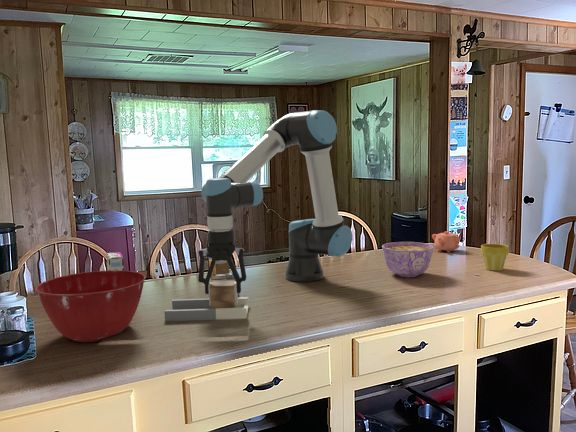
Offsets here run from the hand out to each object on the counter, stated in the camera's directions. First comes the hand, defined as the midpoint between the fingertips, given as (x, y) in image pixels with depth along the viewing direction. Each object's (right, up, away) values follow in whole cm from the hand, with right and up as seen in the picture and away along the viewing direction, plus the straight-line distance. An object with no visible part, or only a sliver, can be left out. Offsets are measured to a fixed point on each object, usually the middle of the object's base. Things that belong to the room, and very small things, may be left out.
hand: (223, 303), depth 155 cm
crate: (0, -1, 0) cm, 2 cm away
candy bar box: (-39, -3, +19) cm, 44 cm away
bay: (-5, -4, 0) cm, 6 cm away
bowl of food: (+67, +3, +46) cm, 82 cm away
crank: (-2, +6, +13) cm, 15 cm away
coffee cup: (-5, 0, +33) cm, 34 cm away
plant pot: (+104, +5, +52) cm, 117 cm away
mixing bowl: (-34, -7, -12) cm, 37 cm away
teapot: (+96, +10, +92) cm, 133 cm away
